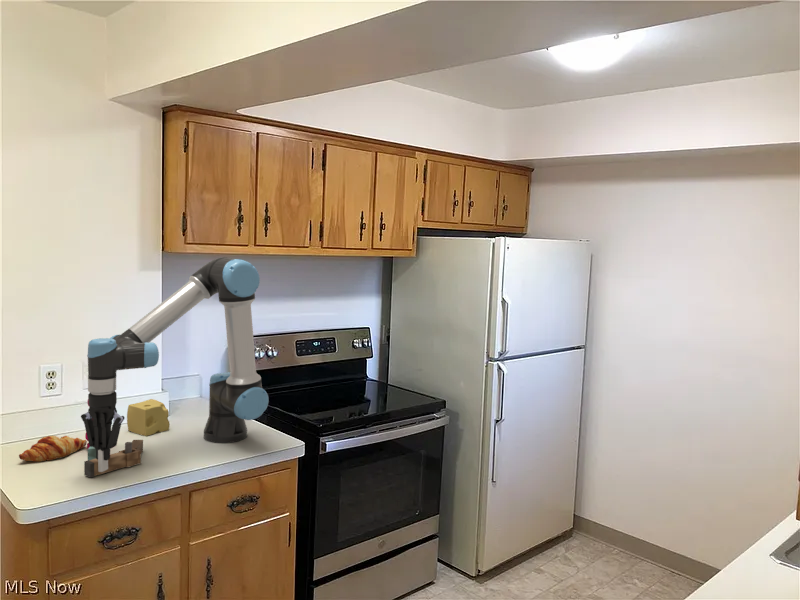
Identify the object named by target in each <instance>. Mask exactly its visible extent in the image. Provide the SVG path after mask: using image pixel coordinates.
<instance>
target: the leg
mask: <svg viewBox="0 0 800 600" xmlns="http://www.w3.org/2000/svg"><path fill="white" fill-rule="evenodd" d="M141 464H142V454H141V451H140V450H137V449H135V448H132V452H131V453H127V454H125V449H122V450H118V451H117V452H114V453H110V459H109V460H108V469H107V470H105V471H104V472H98V460H97V459H92V460H88V459H87V460H85V461H84V465H83V466H84V467H83V468H84V470H83V472H84V474H83V475H84V476H86V477H88V478H93V477H96V476H99V475H102V474H103V475H104V474H105V473H106V474H107V473H110V472H112V471H116V470H120V469H123V468H130V467H134V466H137V465H141Z"/></svg>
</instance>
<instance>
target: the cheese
mask: <svg viewBox="0 0 800 600" xmlns="http://www.w3.org/2000/svg"><path fill="white" fill-rule="evenodd" d="M169 414H170V413H169V410H168V408H167V406H166V405H165V404H164V403H163V402H161V401H159V400H158V399H154V398H150V399H147V400H143V401H139V402H136V403H131V404H128V407H127V412H126V424H127V430H128V432H130V431H131V432H130V433H134V434H137V435H141V436H143V437H148V436H151V435H155V434H156V433H163V432H167V431H169V430H170V427H171V426H170V425H171V424H170V420H169V416H170V415H169Z"/></svg>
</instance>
